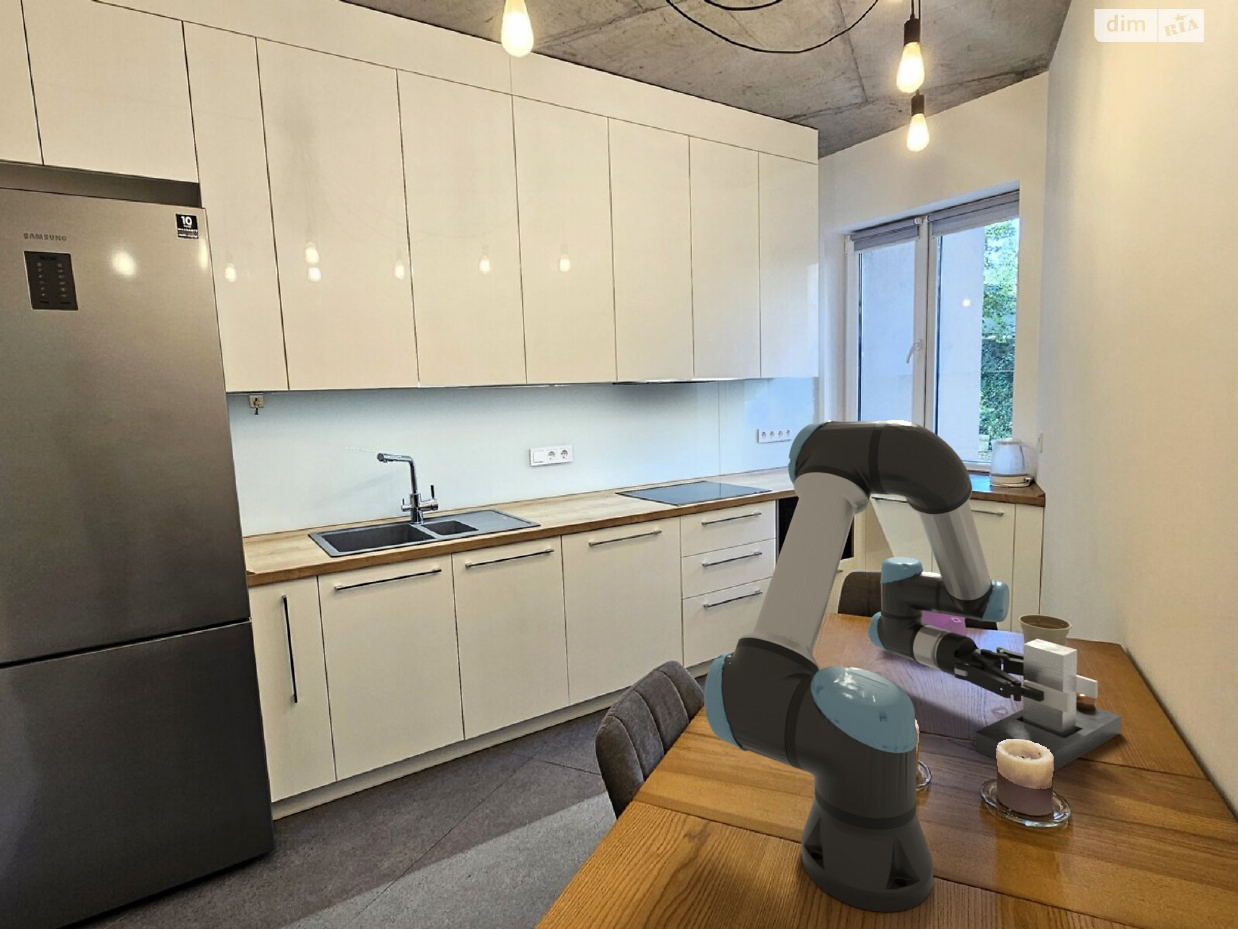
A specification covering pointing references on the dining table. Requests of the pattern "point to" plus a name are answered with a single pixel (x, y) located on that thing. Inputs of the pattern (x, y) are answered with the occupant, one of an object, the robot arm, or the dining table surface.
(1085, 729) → the post stand
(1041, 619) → the flower pot
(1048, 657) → the white rectangular block
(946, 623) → the teakettle
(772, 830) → the dining table surface
